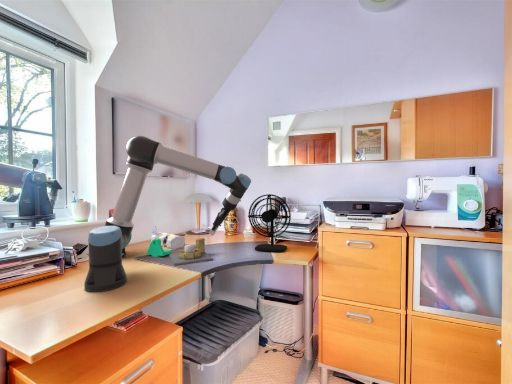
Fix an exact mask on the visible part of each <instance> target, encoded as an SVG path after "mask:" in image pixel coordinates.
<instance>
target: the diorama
mask: <svg viewBox="0 0 512 384" xmlns="http://www.w3.org/2000/svg"><path fill="white" fill-rule="evenodd" d="M159 235H161V236H159ZM158 236H159V237H158ZM156 237H158V238H160V239H161V246H162V248H165V245H164V243H166V247H167V248H168V249H169V250H175V249H179V248H184V246H185V245H186V244H185V243H186V242H185V237H184V236H181V235H177V234H172V233H167V232H161V231H159V232H157V226H153V228H152V235H151V236H150V243H151V242H152V240H153V239H156Z"/></svg>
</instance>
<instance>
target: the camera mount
mask: <svg viewBox="0 0 512 384" xmlns="http://www.w3.org/2000/svg"><path fill="white" fill-rule="evenodd" d="M169 254H172V249H164V247H162V246H161V239H160V238H159V237H157V238H155V239H153V240H152V242H151V241H150V243H149V246H148V248H147V250H146V255H151V257H154V256H155V258H160V257H164V256H167V255H169Z"/></svg>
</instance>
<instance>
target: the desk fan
mask: <svg viewBox="0 0 512 384" xmlns="http://www.w3.org/2000/svg"><path fill="white" fill-rule="evenodd" d="M266 196H267V197H266ZM264 197H266V198H264ZM273 197H275V198H273ZM261 198H262V199H261ZM263 201H266V203H265V204H261V205H260V206H259V204H260V203H261V202H263ZM272 201H275V202H277V203H278V204H279V205H278V204H276V203H272ZM258 206H259V207H258ZM269 206H270V209H269ZM257 207H258V208H257ZM263 207H266V209H265V211H262V209H263ZM281 207H282V208H281ZM273 208H275V209H273ZM278 208H279V209H278ZM255 211H256V212H255ZM258 211H259V212H258ZM261 211H262V213H261ZM283 211H284V213H283ZM280 212H281V213H280ZM258 213H259V214H258ZM283 214H284V215H283ZM291 215H292V214H291V209H290V206H289V205H288V203H287V202H286V200H285V199H283V198H281V197H280V196H278V195H275V194H268V193H267V194H262V195H261V196H258V197H257V198H255V199H254V200H253V201H252V203H251V204H250V206H249V209H248V215H247V218H248V221H249V225H250V226H251V228H252V229H253V231H254V232H256V234H258V235H260V236H262V237H264V238H270V243H260V244H257V245H256V246H254V250H255V251H258V252H269V253H270V252H271V253H281V252H286V251H287V250H288V246H287V245H285V244H276V243H275V238H276V237H280V236H281V235H282V234H283V233H284V232H286V231H287V229H288V228H289V226H290V224H291V219H292V216H291ZM258 219H259V220H260V222H261V223H262V224H263V225H264V226H265V227H264V226H263V225H261V224H260V223H259V221H258ZM276 219H277V220H278V222H277V223H276V224H274V223H275V220H276ZM283 219H284V222H283V224H282V226H281V228H280V229H278V230H274V229H275V228H276V227H277V226H279V225H280V224H281V222H282V221H283ZM287 221H288V223H287ZM269 225H270V226H269ZM285 226H286V227H285ZM284 227H285V228H284ZM283 229H284V230H283ZM282 230H283V231H282ZM280 231H281V232H280ZM279 232H280V233H279Z"/></svg>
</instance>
